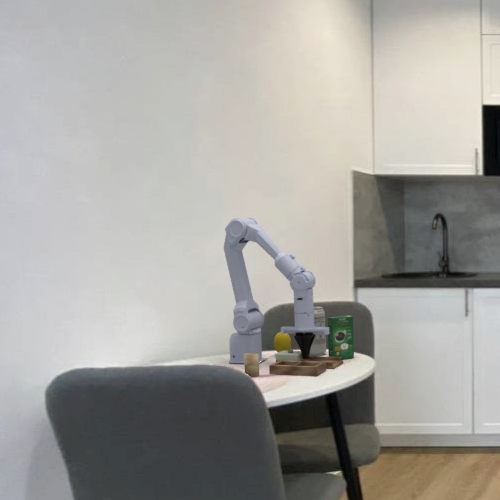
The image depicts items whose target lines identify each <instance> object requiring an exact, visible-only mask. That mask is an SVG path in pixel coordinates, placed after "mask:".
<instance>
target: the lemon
mask: <svg viewBox="0 0 500 500" xmlns="http://www.w3.org/2000/svg"><path fill="white" fill-rule="evenodd" d="M273 347H274V349H275V351H276V353H279V352H281V351H288V350H291V349H292V340H291V335H289V333H285V334H281V331H279V332H277V333H276V335H275V336H274V339H273Z"/></svg>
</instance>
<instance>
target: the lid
mask: <svg viewBox="0 0 500 500" xmlns="http://www.w3.org/2000/svg"><path fill="white" fill-rule="evenodd" d="M274 356H275V360H290V361H301V360H303V358H302V354H301V350H293V349H290V350H288V351H281V352H279V353H278V352H276V353H275V354H274Z"/></svg>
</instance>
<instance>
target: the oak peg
mask: <svg viewBox="0 0 500 500" xmlns="http://www.w3.org/2000/svg"><path fill="white" fill-rule="evenodd" d="M243 364H244V365H243V366H244V374H245V373H246V374H248V375H249V376H251V377H250V378H257V377H259V376H260V363H259V356H258V353H246V354H244V363H243Z"/></svg>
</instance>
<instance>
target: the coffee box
mask: <svg viewBox="0 0 500 500" xmlns="http://www.w3.org/2000/svg"><path fill="white" fill-rule="evenodd" d="M327 327H329V334H328V335H327V337H328V338H327V345H328V346H327V349H328V352H327V353H328V356H327V357H341V360H347V359H348V360H349V359H354V358H355V349H354V347H355V345H354V342H355V341H354V338H355V337H354V316H353V315H341V316H330V317H327Z"/></svg>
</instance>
